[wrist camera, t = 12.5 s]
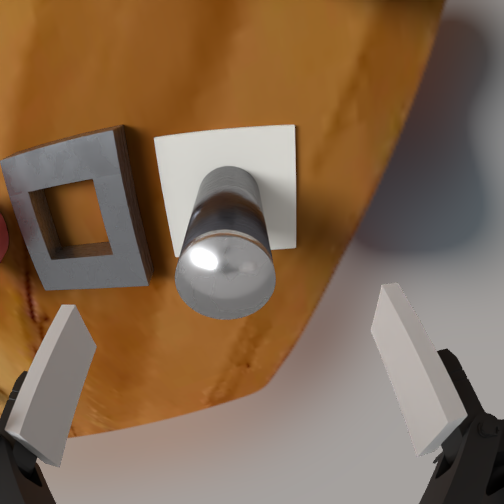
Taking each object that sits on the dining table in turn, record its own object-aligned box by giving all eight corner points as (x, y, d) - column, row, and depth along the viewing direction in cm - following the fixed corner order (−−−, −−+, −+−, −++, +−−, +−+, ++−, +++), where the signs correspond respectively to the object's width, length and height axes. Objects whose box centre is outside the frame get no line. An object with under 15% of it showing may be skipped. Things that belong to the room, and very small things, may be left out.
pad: (155, 137, 24) (153, 138, 23) (293, 124, 24) (294, 125, 23) (176, 254, 29) (175, 257, 29) (295, 245, 30) (296, 247, 29)
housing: (14, 152, 23) (-1, 160, 21) (123, 124, 23) (112, 130, 21) (54, 276, 30) (45, 290, 28) (154, 269, 30) (148, 285, 28)
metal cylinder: (194, 169, 25) (165, 242, 15) (257, 163, 25) (274, 233, 15) (202, 224, 28) (185, 321, 17) (260, 220, 28) (276, 315, 17)
